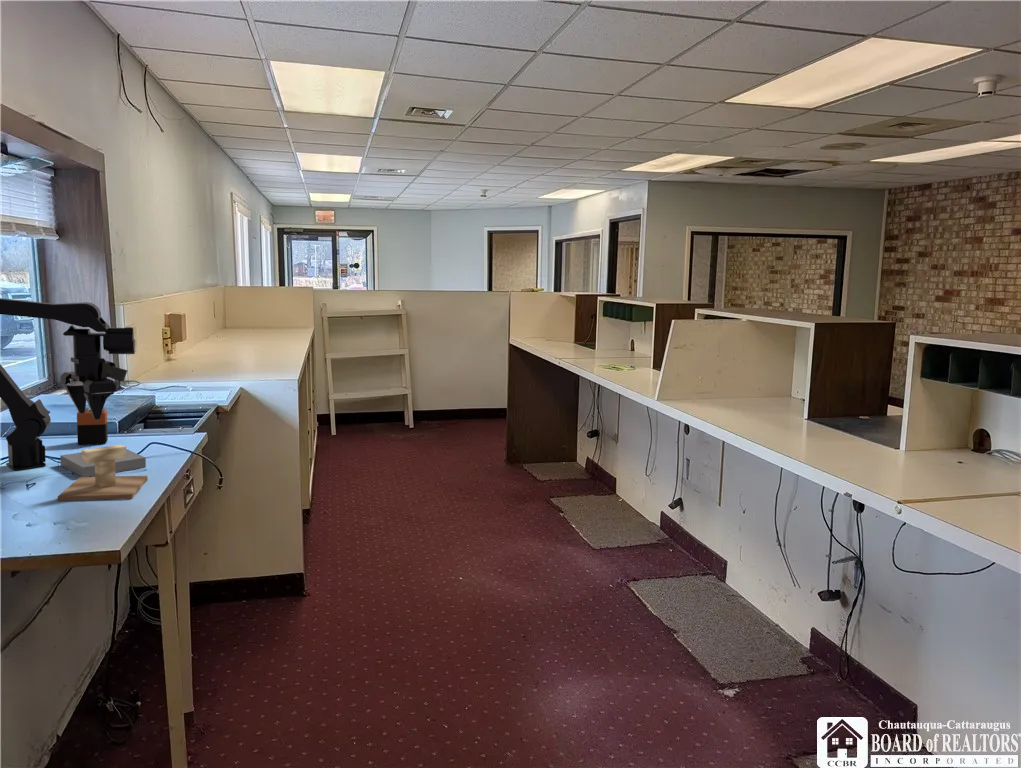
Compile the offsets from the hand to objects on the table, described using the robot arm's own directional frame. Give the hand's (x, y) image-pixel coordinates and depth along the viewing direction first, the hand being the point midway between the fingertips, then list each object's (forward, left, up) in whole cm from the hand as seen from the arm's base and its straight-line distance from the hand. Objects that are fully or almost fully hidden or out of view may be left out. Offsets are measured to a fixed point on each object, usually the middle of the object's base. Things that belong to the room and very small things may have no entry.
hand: (89, 416), depth 167 cm
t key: (-6, -24, -11) cm, 27 cm away
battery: (+8, +20, -12) cm, 25 cm away
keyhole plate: (+1, -5, -12) cm, 13 cm away
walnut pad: (-6, -24, -12) cm, 27 cm away
